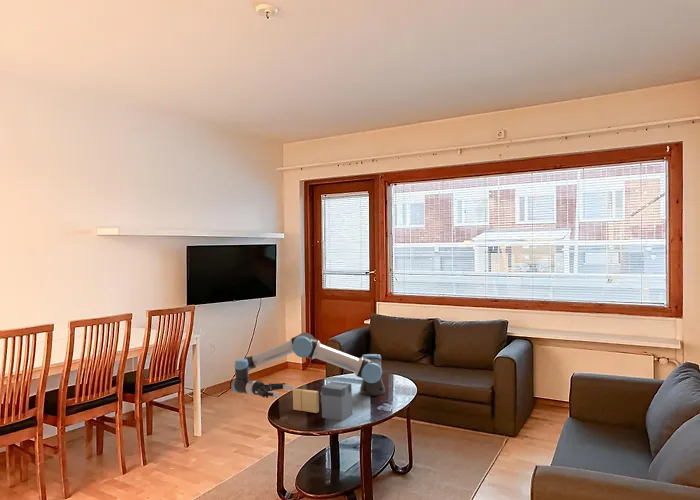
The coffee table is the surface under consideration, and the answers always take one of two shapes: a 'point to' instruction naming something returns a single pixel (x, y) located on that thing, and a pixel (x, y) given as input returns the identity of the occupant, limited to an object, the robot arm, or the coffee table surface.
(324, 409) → the dispenser
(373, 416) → the coffee table surface
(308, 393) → the taped cardboard box
